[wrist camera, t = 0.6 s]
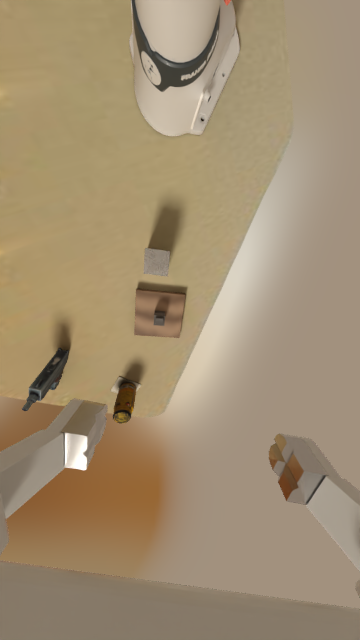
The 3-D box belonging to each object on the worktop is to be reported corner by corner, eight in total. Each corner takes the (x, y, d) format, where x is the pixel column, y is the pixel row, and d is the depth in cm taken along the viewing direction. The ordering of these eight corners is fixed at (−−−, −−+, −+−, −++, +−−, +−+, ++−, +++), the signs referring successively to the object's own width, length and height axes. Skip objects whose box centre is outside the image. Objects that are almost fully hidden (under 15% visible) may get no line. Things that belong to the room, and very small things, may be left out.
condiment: (132, 398, 65) (127, 428, 54) (110, 390, 63) (100, 420, 52) (141, 384, 63) (137, 412, 52) (119, 376, 61) (110, 404, 50)
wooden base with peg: (136, 288, 50) (133, 294, 44) (184, 293, 52) (188, 299, 46) (135, 332, 55) (132, 343, 49) (178, 334, 57) (181, 345, 51)
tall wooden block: (147, 248, 46) (145, 247, 37) (167, 250, 47) (170, 251, 38) (146, 268, 48) (143, 273, 39) (165, 271, 49) (167, 276, 40)
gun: (20, 427, 47) (17, 400, 39) (56, 375, 60) (59, 347, 53) (31, 429, 48) (30, 403, 40) (64, 377, 61) (68, 350, 53)
